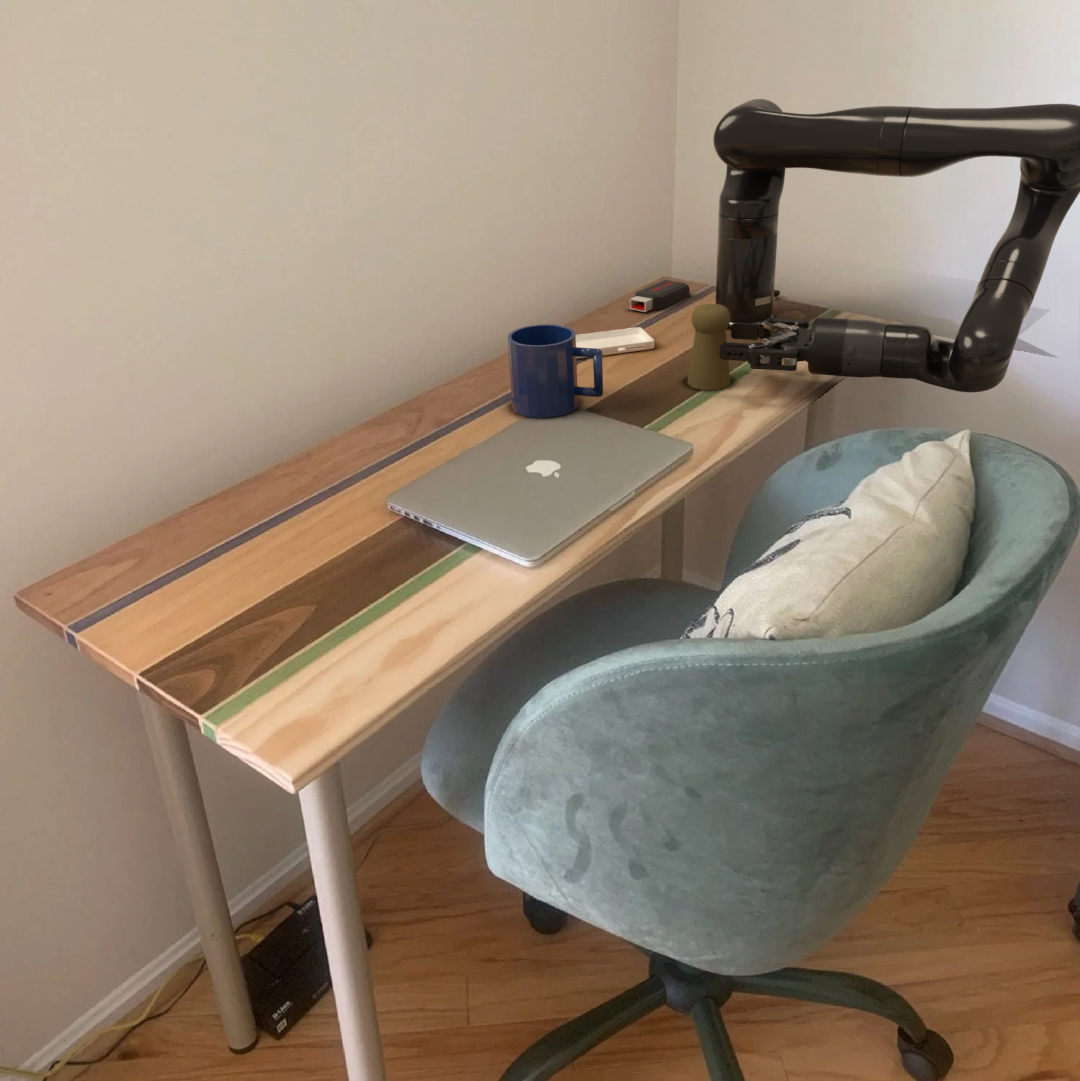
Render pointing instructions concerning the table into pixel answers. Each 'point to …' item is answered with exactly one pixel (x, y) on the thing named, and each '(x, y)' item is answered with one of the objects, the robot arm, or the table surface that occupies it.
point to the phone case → (616, 341)
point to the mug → (548, 370)
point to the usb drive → (659, 296)
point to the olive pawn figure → (709, 348)
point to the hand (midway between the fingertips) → (726, 340)
